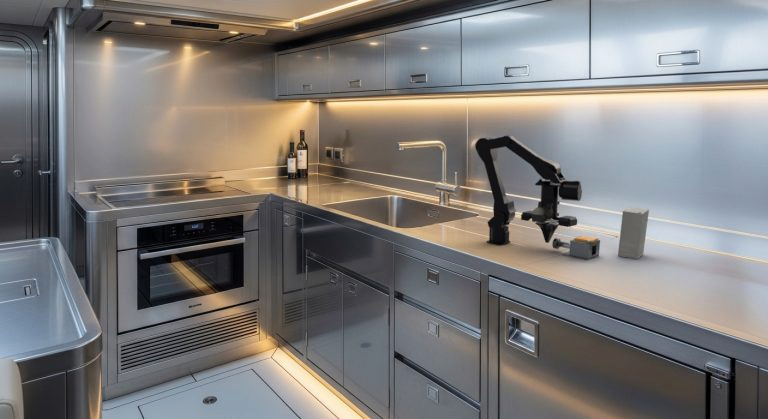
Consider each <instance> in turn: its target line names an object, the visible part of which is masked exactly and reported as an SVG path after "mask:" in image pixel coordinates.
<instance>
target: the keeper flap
mask: <svg viewBox="0 0 768 419" xmlns="http://www.w3.org/2000/svg"><path fill="white" fill-rule="evenodd" d="M573 240H577V241H584V242H587V241H588V240H590V242H591V243H592V242H595V241H598V240H599V238H596V237H591V236H583V235H582V236H581V235H579V236H577V237H574V238H573Z"/></svg>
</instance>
